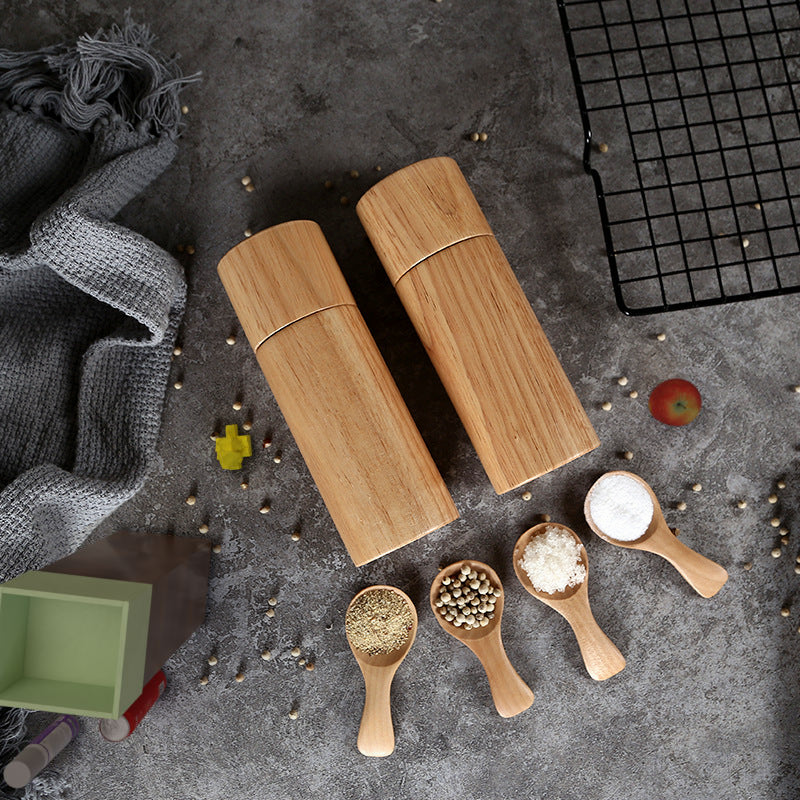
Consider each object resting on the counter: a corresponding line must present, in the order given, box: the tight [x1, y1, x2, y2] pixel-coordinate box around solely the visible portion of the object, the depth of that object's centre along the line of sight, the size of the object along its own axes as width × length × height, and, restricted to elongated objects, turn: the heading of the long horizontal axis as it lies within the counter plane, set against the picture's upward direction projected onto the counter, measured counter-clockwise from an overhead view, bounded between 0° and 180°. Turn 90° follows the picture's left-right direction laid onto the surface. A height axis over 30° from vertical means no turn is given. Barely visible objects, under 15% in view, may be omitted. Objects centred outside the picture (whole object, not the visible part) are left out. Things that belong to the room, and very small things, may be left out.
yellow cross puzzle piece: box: [214, 423, 253, 471], centre depth 112 cm, size 6×8×8 cm
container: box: [3, 713, 81, 789], centre depth 111 cm, size 5×5×15 cm
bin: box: [0, 569, 152, 720], centre depth 87 cm, size 18×16×7 cm
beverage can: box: [98, 669, 168, 744], centre depth 110 cm, size 6×6×15 cm
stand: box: [36, 529, 213, 687], centre depth 104 cm, size 17×15×27 cm
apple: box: [647, 377, 703, 427], centre depth 109 cm, size 8×8×10 cm
